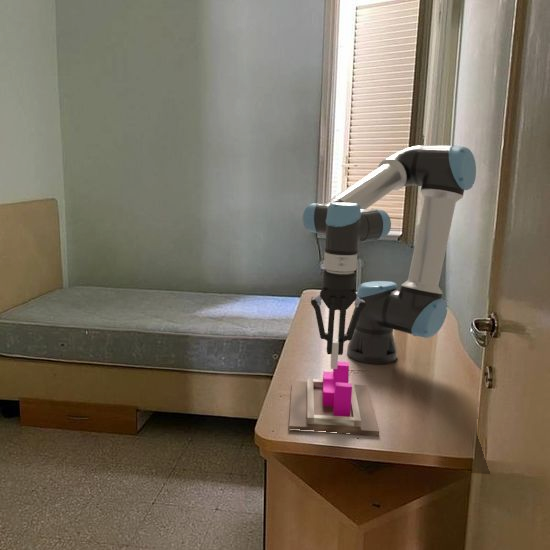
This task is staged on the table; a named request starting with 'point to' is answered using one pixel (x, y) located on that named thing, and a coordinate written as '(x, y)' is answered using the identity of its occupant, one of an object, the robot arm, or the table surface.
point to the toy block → (338, 389)
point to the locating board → (331, 410)
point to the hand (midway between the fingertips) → (333, 366)
